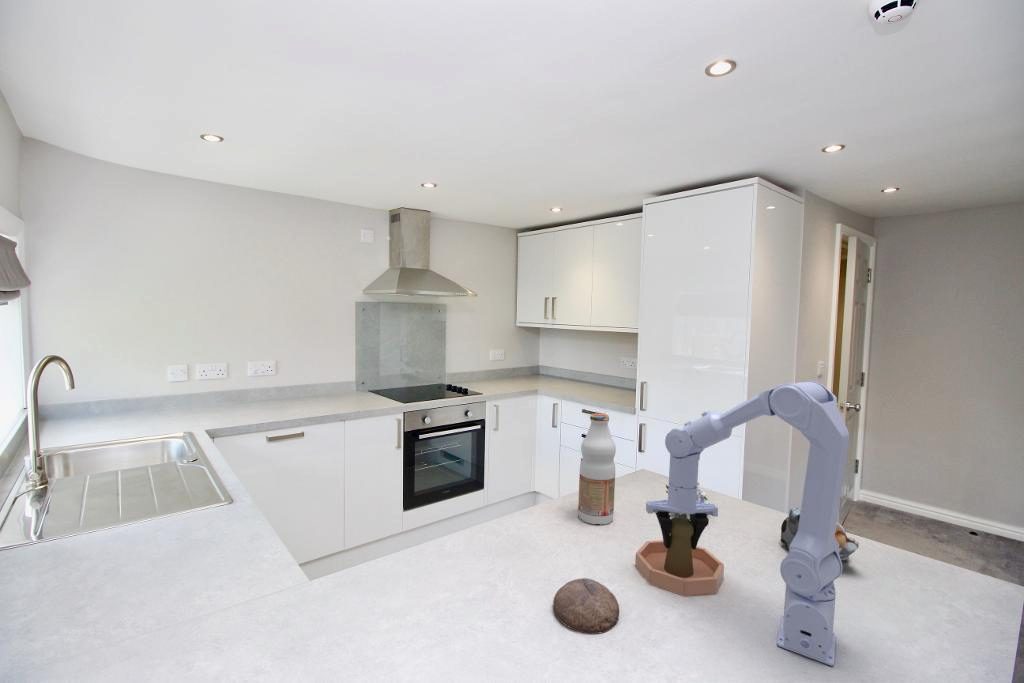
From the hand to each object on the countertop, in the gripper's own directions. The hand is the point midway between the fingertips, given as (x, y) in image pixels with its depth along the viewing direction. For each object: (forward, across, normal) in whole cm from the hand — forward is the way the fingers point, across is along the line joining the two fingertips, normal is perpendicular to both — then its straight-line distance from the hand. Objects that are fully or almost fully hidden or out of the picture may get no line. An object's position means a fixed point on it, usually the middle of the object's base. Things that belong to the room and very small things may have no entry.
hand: (679, 546), depth 102 cm
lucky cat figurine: (+6, -35, -10) cm, 37 cm away
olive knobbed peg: (+5, 0, 0) cm, 5 cm away
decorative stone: (+6, +22, +16) cm, 27 cm away
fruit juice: (+6, +14, -26) cm, 30 cm away
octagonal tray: (+6, 0, 0) cm, 6 cm away
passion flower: (+6, -12, -32) cm, 35 cm away
